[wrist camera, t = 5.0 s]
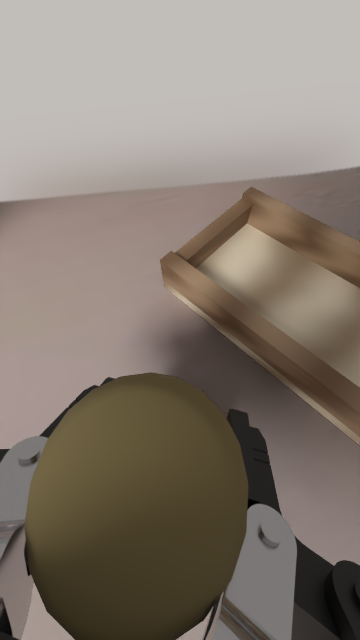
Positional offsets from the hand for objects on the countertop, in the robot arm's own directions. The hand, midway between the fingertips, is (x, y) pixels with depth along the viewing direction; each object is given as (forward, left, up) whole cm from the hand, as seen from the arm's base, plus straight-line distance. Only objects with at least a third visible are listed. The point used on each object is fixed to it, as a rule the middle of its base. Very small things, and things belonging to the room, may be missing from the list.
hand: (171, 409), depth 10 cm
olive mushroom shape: (+1, -2, -5) cm, 6 cm away
